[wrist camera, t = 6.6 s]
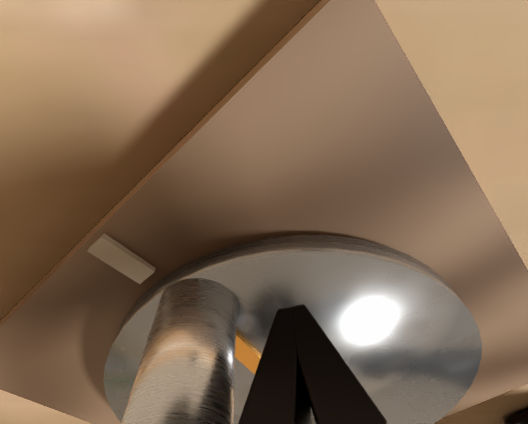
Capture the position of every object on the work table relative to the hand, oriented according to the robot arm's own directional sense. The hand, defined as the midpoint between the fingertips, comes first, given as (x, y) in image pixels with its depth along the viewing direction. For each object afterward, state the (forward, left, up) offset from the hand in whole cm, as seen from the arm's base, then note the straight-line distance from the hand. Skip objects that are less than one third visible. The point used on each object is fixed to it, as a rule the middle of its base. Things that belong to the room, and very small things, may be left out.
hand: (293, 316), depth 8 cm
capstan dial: (-5, +4, -3) cm, 7 cm away
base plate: (-5, +4, -4) cm, 8 cm away
